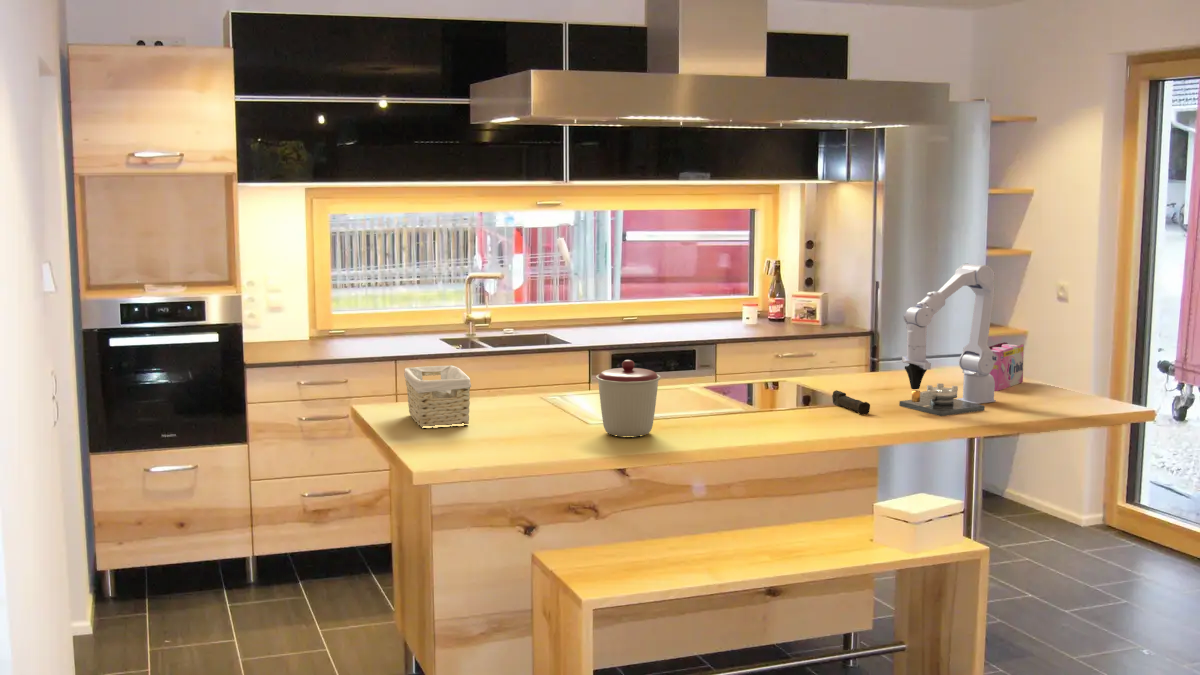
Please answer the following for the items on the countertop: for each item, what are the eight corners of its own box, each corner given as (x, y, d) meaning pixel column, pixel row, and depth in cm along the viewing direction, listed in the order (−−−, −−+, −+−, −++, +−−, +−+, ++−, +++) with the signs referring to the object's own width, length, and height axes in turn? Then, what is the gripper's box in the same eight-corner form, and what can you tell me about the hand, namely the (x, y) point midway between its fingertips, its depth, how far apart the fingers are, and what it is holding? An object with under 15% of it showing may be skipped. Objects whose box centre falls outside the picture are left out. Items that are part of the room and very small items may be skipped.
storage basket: (473, 427, 338) (472, 377, 336) (417, 431, 333) (416, 380, 331) (456, 411, 360) (455, 364, 358) (403, 415, 355) (402, 367, 353)
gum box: (1002, 379, 416) (1004, 341, 414) (1024, 382, 411) (1026, 343, 409) (974, 388, 398) (976, 349, 396) (997, 391, 393) (999, 351, 391)
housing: (942, 400, 377) (942, 389, 376) (984, 410, 361) (984, 399, 360) (899, 405, 368) (899, 394, 368) (940, 416, 353) (941, 404, 352)
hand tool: (870, 414, 356) (871, 399, 355) (858, 415, 355) (859, 400, 354) (840, 403, 374) (841, 389, 373) (829, 404, 373) (829, 389, 372)
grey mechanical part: (938, 395, 370) (939, 382, 370) (962, 399, 363) (963, 386, 363) (901, 402, 359) (901, 389, 359) (925, 406, 352) (926, 393, 351)
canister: (656, 442, 318) (656, 366, 315) (590, 440, 321) (590, 364, 318) (663, 428, 336) (664, 355, 333) (601, 426, 339) (601, 354, 336)
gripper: (893, 342, 369) (892, 385, 371) (916, 349, 355) (915, 393, 357) (913, 342, 370) (912, 384, 372) (937, 348, 356) (935, 392, 358)
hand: (915, 388), depth 365 cm, fingers closed
